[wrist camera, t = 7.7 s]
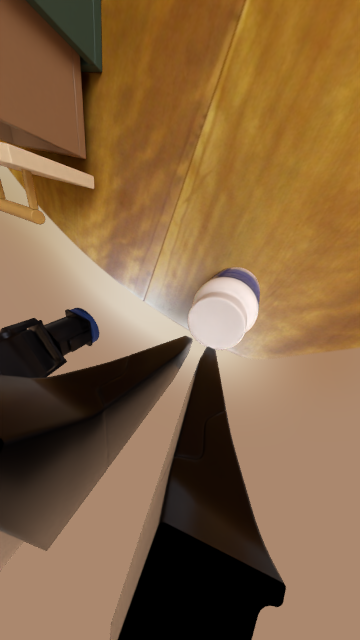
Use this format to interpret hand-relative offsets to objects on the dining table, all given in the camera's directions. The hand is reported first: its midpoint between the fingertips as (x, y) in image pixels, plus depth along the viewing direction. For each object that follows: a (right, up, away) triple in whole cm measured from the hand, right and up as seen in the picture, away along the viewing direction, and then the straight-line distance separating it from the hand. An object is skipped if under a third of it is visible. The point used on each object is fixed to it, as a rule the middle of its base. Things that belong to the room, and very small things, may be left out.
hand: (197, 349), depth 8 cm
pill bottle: (+5, +5, +10) cm, 12 cm away
